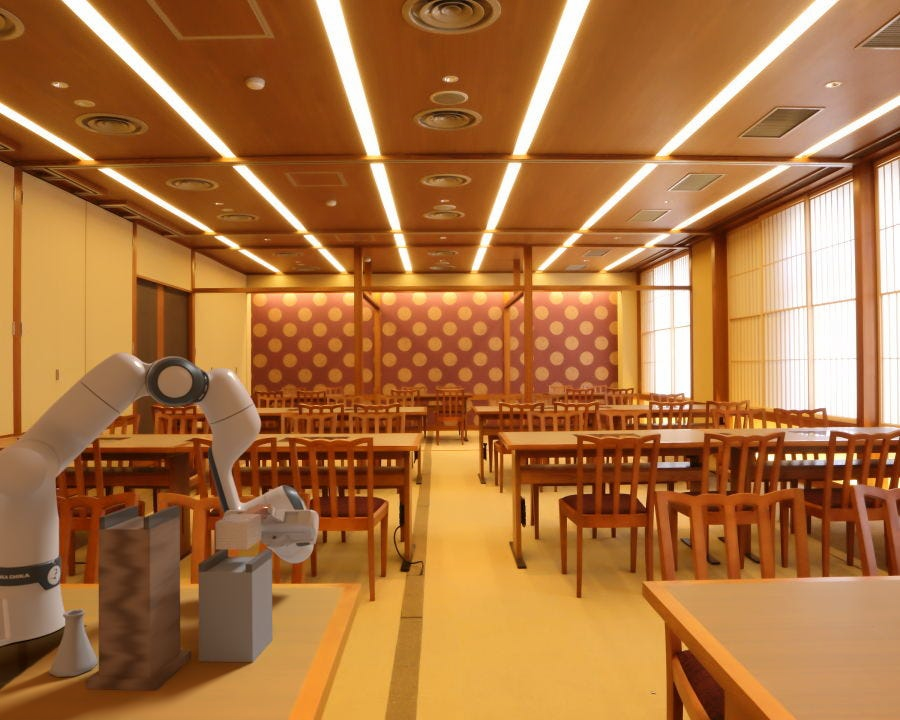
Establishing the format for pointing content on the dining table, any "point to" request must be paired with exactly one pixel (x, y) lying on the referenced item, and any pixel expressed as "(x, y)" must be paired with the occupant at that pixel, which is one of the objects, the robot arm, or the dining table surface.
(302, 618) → the dining table surface
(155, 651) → the tall post
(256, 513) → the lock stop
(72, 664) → the flask
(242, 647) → the grey post
